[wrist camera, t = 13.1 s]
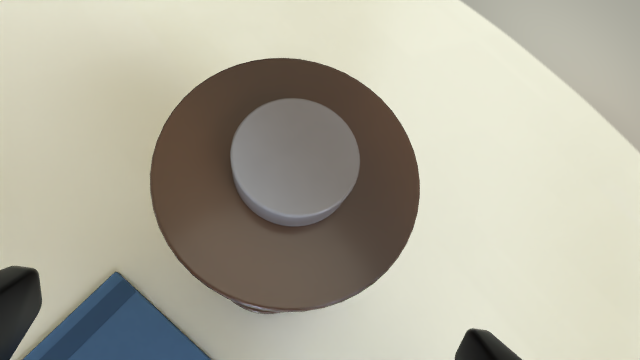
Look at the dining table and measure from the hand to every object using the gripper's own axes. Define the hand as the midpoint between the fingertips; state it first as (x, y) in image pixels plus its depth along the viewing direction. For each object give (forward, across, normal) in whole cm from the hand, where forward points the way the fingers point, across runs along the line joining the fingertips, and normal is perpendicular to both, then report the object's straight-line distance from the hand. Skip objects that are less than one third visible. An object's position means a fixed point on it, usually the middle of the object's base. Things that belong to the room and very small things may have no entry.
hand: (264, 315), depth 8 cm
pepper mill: (+9, 0, +5) cm, 10 cm away
